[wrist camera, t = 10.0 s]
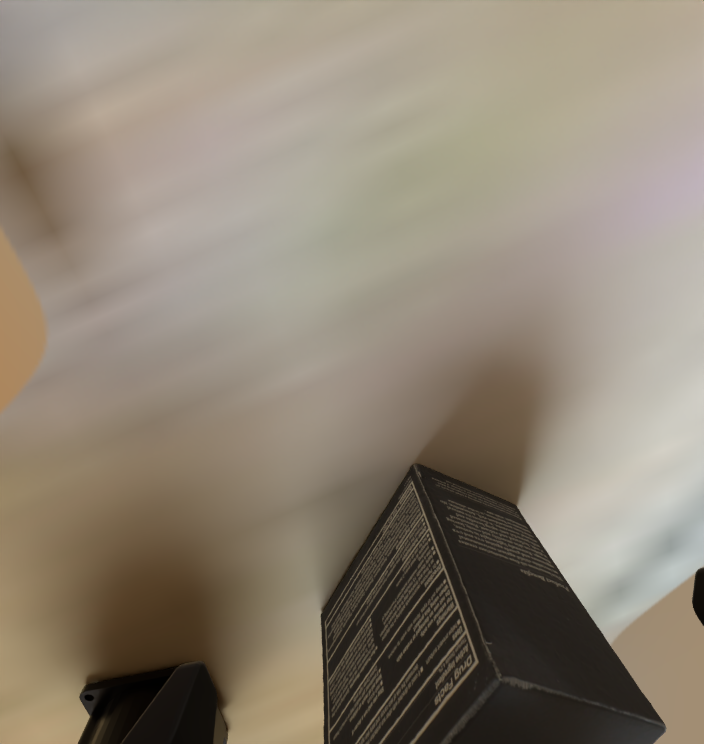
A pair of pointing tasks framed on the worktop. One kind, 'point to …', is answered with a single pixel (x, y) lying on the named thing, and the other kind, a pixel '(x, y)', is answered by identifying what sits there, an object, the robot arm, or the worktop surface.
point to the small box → (468, 634)
